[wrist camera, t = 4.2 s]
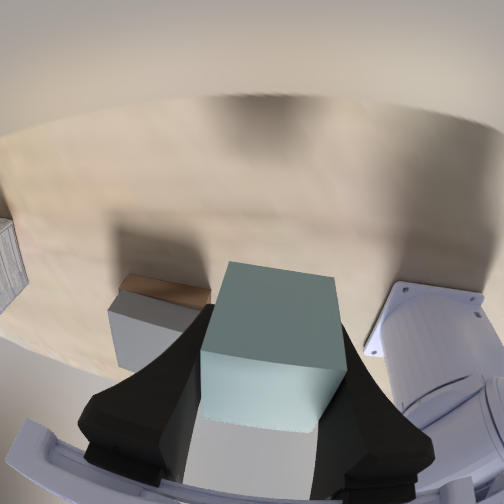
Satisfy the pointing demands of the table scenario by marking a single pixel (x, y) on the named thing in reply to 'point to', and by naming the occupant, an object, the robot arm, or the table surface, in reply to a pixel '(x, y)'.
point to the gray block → (145, 328)
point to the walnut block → (168, 291)
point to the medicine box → (10, 266)
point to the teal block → (272, 349)
